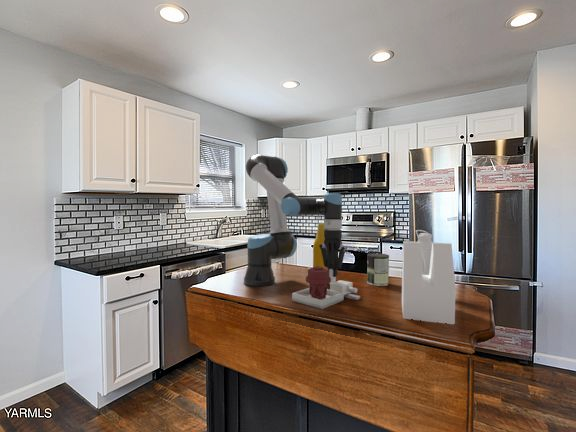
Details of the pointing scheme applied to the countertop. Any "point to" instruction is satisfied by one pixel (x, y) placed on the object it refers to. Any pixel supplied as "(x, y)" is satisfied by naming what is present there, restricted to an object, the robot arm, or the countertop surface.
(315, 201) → the robot arm
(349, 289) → the block
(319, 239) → the beer bottle
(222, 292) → the countertop surface
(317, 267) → the mechanical component
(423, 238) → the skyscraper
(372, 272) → the coffee can
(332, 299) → the tray
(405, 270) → the white notched block
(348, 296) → the track
